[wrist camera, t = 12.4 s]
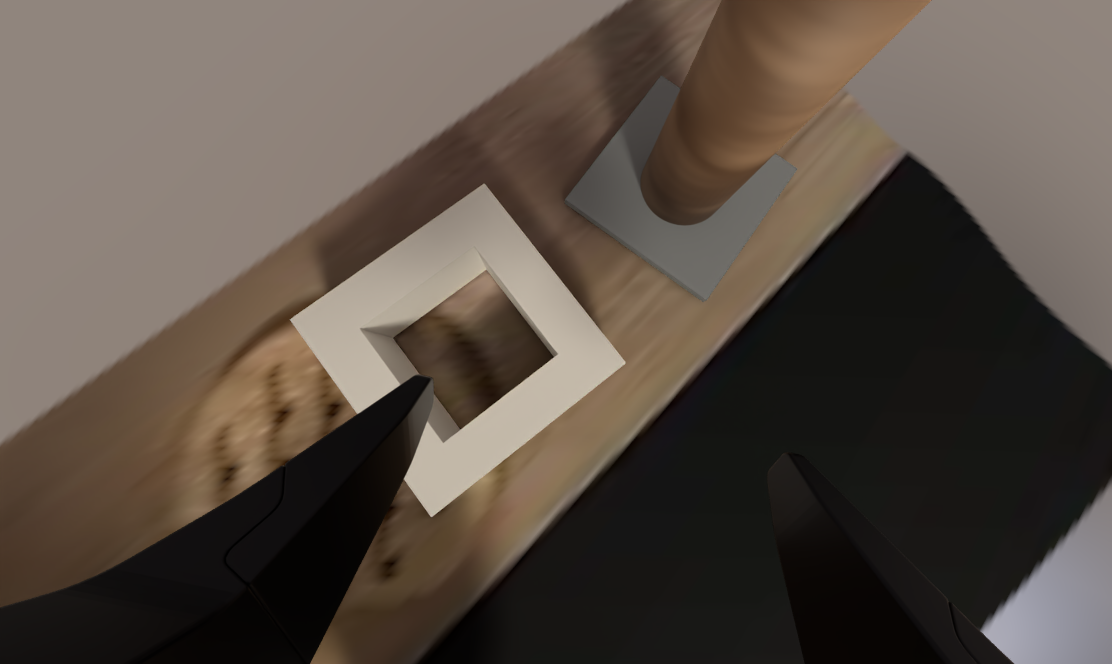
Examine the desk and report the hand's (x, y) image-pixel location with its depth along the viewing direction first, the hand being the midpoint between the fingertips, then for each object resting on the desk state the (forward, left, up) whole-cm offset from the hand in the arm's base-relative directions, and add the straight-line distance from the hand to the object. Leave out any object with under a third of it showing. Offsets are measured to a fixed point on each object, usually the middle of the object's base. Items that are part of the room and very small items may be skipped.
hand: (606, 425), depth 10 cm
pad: (+2, -14, -12) cm, 19 cm away
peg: (+2, -14, -12) cm, 18 cm away
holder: (+6, +1, -12) cm, 13 cm away
